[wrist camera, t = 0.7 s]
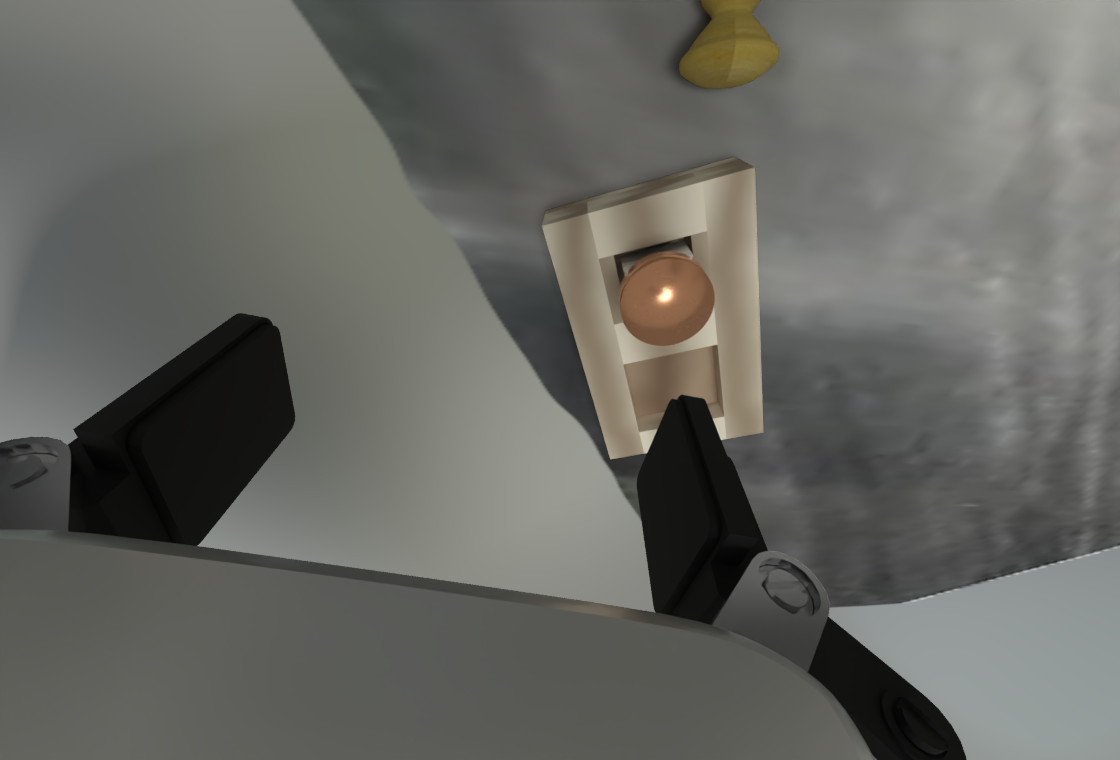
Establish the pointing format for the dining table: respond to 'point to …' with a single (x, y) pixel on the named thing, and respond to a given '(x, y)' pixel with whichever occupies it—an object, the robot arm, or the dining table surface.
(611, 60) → the dining table surface
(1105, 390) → the dining table surface
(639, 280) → the plunger
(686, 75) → the knob
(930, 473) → the dining table surface
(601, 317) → the mount
